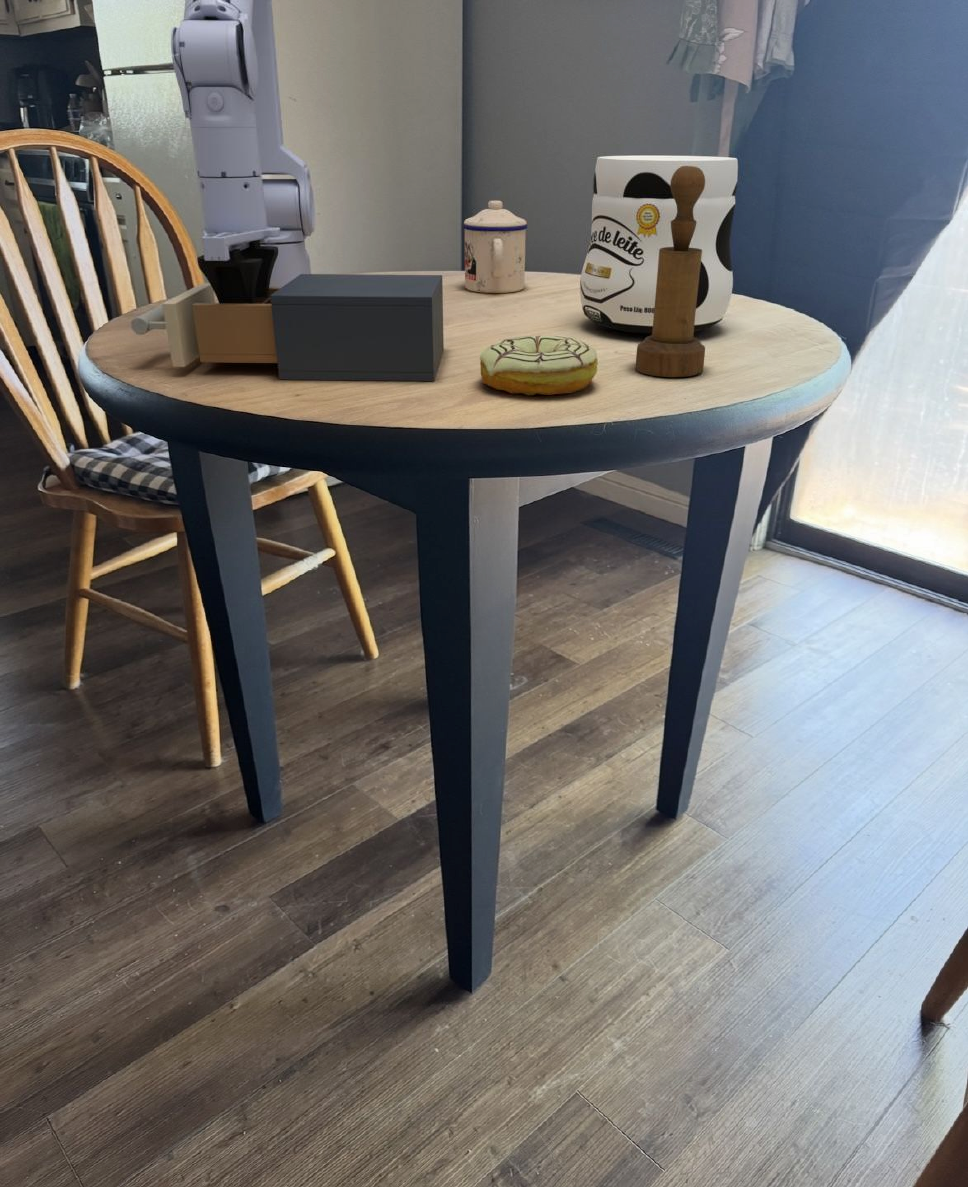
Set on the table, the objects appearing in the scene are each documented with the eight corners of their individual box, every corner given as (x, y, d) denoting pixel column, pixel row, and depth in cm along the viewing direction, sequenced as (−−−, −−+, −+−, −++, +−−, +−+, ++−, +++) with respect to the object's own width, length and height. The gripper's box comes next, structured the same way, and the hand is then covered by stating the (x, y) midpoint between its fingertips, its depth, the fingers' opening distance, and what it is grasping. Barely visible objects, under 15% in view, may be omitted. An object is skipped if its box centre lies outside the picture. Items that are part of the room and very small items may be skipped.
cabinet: (279, 379, 82) (269, 295, 78) (307, 348, 93) (300, 273, 90) (434, 381, 82) (431, 296, 78) (443, 350, 93) (442, 275, 89)
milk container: (554, 334, 100) (561, 158, 92) (608, 308, 114) (618, 154, 105) (703, 350, 93) (726, 162, 84) (742, 321, 107) (765, 157, 98)
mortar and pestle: (656, 358, 90) (675, 163, 81) (714, 368, 86) (740, 165, 78) (622, 371, 85) (638, 166, 77) (682, 382, 82) (706, 168, 73)
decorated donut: (482, 369, 86) (482, 330, 84) (592, 371, 85) (594, 331, 83) (477, 398, 77) (476, 355, 75) (599, 400, 76) (602, 357, 74)
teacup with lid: (462, 283, 131) (461, 198, 125) (522, 283, 131) (524, 198, 126) (465, 298, 120) (464, 205, 115) (530, 297, 121) (533, 205, 115)
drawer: (128, 366, 83) (116, 303, 80) (170, 340, 93) (160, 282, 90) (314, 368, 82) (308, 304, 79) (336, 341, 92) (331, 284, 89)
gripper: (252, 181, 73) (270, 345, 80) (291, 172, 86) (304, 314, 92) (169, 181, 73) (194, 344, 80) (220, 172, 86) (238, 314, 93)
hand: (248, 328), depth 86 cm, fingers closed on block, 4 cm apart
